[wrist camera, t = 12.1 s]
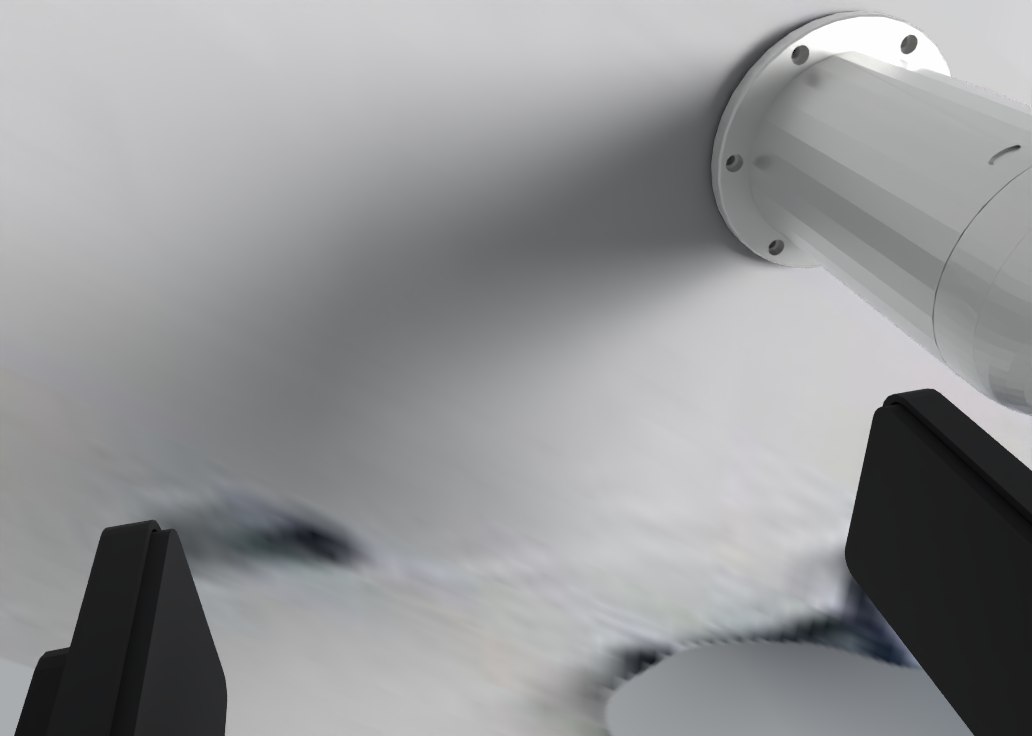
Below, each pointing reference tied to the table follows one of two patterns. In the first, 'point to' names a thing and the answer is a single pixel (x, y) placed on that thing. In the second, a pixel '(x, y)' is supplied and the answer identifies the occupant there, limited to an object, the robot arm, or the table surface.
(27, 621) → the table surface
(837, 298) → the table surface
